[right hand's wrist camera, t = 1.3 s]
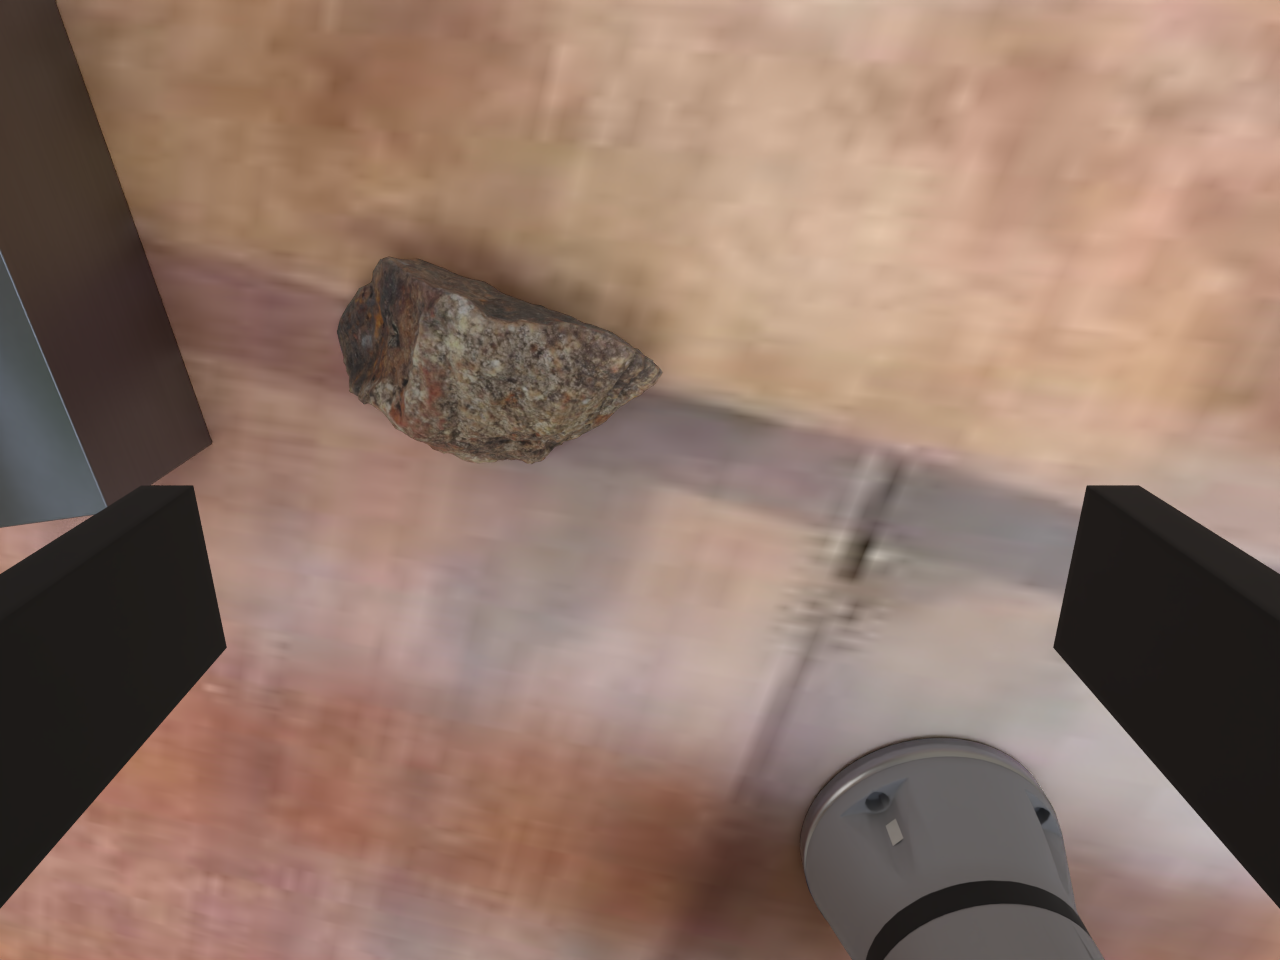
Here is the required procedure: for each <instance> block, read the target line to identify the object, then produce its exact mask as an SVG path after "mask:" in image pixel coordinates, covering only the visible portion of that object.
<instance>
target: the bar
mask: <svg viewBox="0 0 1280 960" xmlns="http://www.w3.org/2000/svg"><path fill="white" fill-rule="evenodd" d="M211 444H212V442H211V439H210V436H209V433H208V430H207V427H206V425H205V422H204V419H203V416H202V413H201V411H200V408H199V405H198V402H197V399H196V397H195V394H194V391H193V388H192V385H191V382H190V380H189V377H188V374H187V371H186V368H185V366H184V363H183V360H182V357H181V354H180V352H179V349H178V346H177V343H176V340H175V337H174V335H173V332H172V329H171V326H170V323H169V321H168V318H167V315H166V312H165V309H164V306H163V304H162V301H161V298H160V295H159V292H158V290H157V287H156V284H155V281H154V278H153V276H152V273H151V270H150V267H149V264H148V261H147V259H146V256H145V253H144V250H143V247H142V245H141V242H140V239H139V236H138V233H137V230H136V228H135V225H134V222H133V219H132V216H131V214H130V211H129V208H128V205H127V202H126V200H125V197H124V194H123V191H122V188H121V185H120V183H119V180H118V177H117V174H116V171H115V169H114V166H113V163H112V160H111V157H110V155H109V152H108V149H107V146H106V143H105V140H104V138H103V135H102V132H101V129H100V126H99V124H98V121H97V118H96V115H95V112H94V109H93V107H92V104H91V101H90V98H89V95H88V93H87V90H86V87H85V84H84V81H83V79H82V76H81V73H80V70H79V67H78V64H77V62H76V59H75V56H74V53H73V50H72V48H71V45H70V42H69V39H68V36H67V33H66V31H65V28H64V25H63V22H62V19H61V17H60V14H59V11H58V8H57V5H56V3H55V0H0V528H2V527H9V526H16V525H23V524H31V523H38V522H45V521H53V520H60V519H67V518H75V517H82V516H89V515H95V514H97V513H98V512H100V511H101V510H103V509H105V508H106V507H108V506H109V505H111V504H113V503H114V502H116V501H117V500H119V499H120V498H122V497H124V496H125V495H127V494H128V493H130V492H132V491H133V490H135V489H136V488H138V487H140V486H150V485H151V484H153V483H154V482H156V481H157V480H159V479H160V478H162V477H163V476H165V475H166V474H168V473H169V472H171V471H172V470H174V469H175V468H177V467H178V466H180V465H181V464H183V463H184V462H186V461H187V460H189V459H190V458H192V457H193V456H194V455H196V454H197V453H199V452H200V451H202V450H203V449H205V448H206V447H208V446H209V445H211Z"/></svg>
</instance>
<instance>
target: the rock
mask: <svg viewBox="0 0 1280 960" xmlns="http://www.w3.org/2000/svg"><path fill="white" fill-rule="evenodd" d="M337 334H338V338H339V342H340V346H341V349H342V353H343V356H344V364H345V365H346V371H347V373H348V375H349V386H350V390H349V391H350V392H351V393H354V394H355V395H357V396H358V398H359V400H360V401H361V402H362V403H363V404H367V403H369V404H371V405H373V406H374V407H375V408H377V409H378V410H380V411H381V412H383V413H384V414H385V415H386V417H387V418H388V419H389V420H390V422H391V423H392V424H393V426H394V427H395V428H396V429H398V430H400V431H402V432H403V433H405V434H407V435H408V436H410V437H411V438H413V439H415V440H417V441H421V442H424V443H426V444H428V445H429V446H430V447H432V449H434V450H437V451H440V452H442V453H451V454H454V455H455V456H457V457H459V458H461V459H463V460H465V461H469V462H474V463H482V462H496V461H498V460H505V459H510V460H515V459H517V460H522V461H524V462H526V463H527V464H533V463H534V462H540V461H542V460H544V459H545V457H546V456H547V455H548V454H549V453H550V452H551V450H552V449H553V448H554V447H556V446H558V445H562V443H563V442H564V441H568V440H572V439H575V438H578V437H579V436H581V435H582V434H584V433H586V432H588V431H590V430H592V429H594V428H595V427H597V426H599V425H601V424H602V423H604V422H605V421H606V420H607V419H608V418H609V417H610V416H611V415H612V414H613V413H614V412H615V411H616V410H617V409H618V408H619V407H620V406H622V405H624V404H626V403H627V402H629V401H630V400H631V399H633V398H635V397H637V396H640V395H641V394H642V393H643V392H644V391H645V390H647V389H648V388H650V387H652V386H653V385H655V384H656V382H657V380H658V379H659V377H660V376H661V374H662V373H663V372H662V371H661V369H660V368H659V367H658V366H657V365H656V364H655V363H654V362H653V360H651V359H649V358H648V357H646V356H644V355H643V354H642V353H641V352H640V351H639V350H638V349H635V348H633V347H632V346H630V345H629V344H628V343H627V342H625V341H624V340H623V339H621V338H620V337H618V336H616V335H615V334H613V333H612V332H610V331H607V330H605V329H602V328H599V327H597V326H594V325H591V324H586V323H582V322H581V321H579V320H577V319H575V318H573V317H571V316H568V315H565V314H562V313H559V312H557V311H553V310H548V309H547V308H545V307H543V306H541V305H533V304H530V303H528V302H525V301H522V300H520V299H517V298H514V297H512V296H508V295H505V294H503V293H501V292H500V291H498V290H497V289H495V288H494V287H492V286H490V285H489V284H487V283H486V282H483V281H478V280H473V279H469V278H465V277H462V276H460V275H457V274H455V273H452V272H450V271H448V270H446V269H444V268H441V267H439V266H436V265H433V264H431V263H428V262H425V261H423V260H420V259H406V260H404V259H397V258H392V257H386V258H383V259H380V261H379V263H378V264H377V266H376V267H375V269H374V271H373V279H372V282H371V283H369V284H368V285H365V286H363V287H361V288H359V290H358V291H357V293H356V295H355V296H354V298H353V299H352V301H351V302H350V303H349V305H348V306H347V308H346V310H345V311H344V313H343V315H342V317H341V319H340V322H339V326H338V330H337Z"/></svg>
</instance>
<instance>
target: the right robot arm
mask: <svg viewBox="0 0 1280 960" xmlns="http://www.w3.org/2000/svg"><path fill="white" fill-rule="evenodd" d="M226 648H227V647H226V642H225V637H224V632H223V627H222V623H221V618H220V613H219V608H218V603H217V598H216V594H215V589H214V584H213V579H212V574H211V569H210V564H209V560H208V555H207V550H206V545H205V540H204V535H203V531H202V526H201V521H200V516H199V511H198V506H197V501H196V497H195V492H194V487H193V486H140V487H138V488H136V489H135V490H133V491H132V492H130V493H128V494H127V495H125V496H124V497H122V498H120V499H119V500H117V501H116V502H114V503H113V504H111V505H109V506H108V507H106V508H105V509H103V510H101V511H100V512H98V513H97V514H95V515H93V516H92V517H90V518H89V519H87V520H86V521H84V522H82V523H81V524H79V525H78V526H76V527H74V528H73V529H71V530H70V531H68V532H67V533H65V534H63V535H62V536H60V537H59V538H57V539H55V540H54V541H52V542H51V543H49V544H47V545H46V546H44V547H43V548H41V549H40V550H38V551H36V552H35V553H33V554H32V555H30V556H28V557H27V558H25V559H24V560H22V561H20V562H19V563H17V564H16V565H14V566H13V567H11V568H9V569H8V570H6V571H5V572H3V573H1V574H0V908H1V907H2V906H3V905H4V904H5V902H6V901H7V900H8V899H9V898H10V897H11V896H12V894H13V893H14V892H15V891H16V890H17V889H18V888H19V886H20V885H21V884H22V883H23V882H24V881H25V879H26V878H27V877H28V876H29V875H30V874H31V873H32V871H33V870H34V869H35V868H36V867H37V866H38V864H39V863H40V862H41V861H42V860H43V859H44V858H45V856H46V855H47V854H48V853H49V852H50V851H51V849H52V848H53V847H54V846H55V845H56V844H57V843H58V841H59V840H60V839H61V838H62V837H63V836H64V834H65V833H66V832H67V831H68V830H69V829H70V828H71V826H72V825H73V824H74V823H75V822H76V821H77V820H78V818H79V817H80V816H81V815H82V814H83V813H84V811H85V810H86V809H87V808H88V807H89V806H90V805H91V803H92V802H93V801H94V800H95V799H96V798H97V796H98V795H99V794H100V793H101V792H102V791H103V790H104V788H105V787H106V786H107V785H108V784H109V783H110V781H111V780H112V779H113V778H114V777H115V776H116V775H117V773H118V772H119V771H120V770H121V769H122V768H123V766H124V765H125V764H126V763H127V762H128V761H129V760H130V758H131V757H132V756H133V755H134V754H135V753H136V752H137V750H138V749H139V748H140V747H141V746H142V745H143V743H144V742H145V741H146V740H147V739H148V738H149V737H150V735H151V734H152V733H153V732H154V731H155V730H156V728H157V727H158V726H159V725H160V724H161V723H162V722H163V720H164V719H165V718H166V717H167V716H168V715H169V713H170V712H171V711H172V710H173V709H174V708H175V707H176V705H177V704H178V703H179V702H180V701H181V700H182V698H183V697H184V696H185V695H186V694H187V693H188V692H189V690H190V689H191V688H192V687H193V686H194V685H195V684H196V682H197V681H198V680H199V679H200V678H201V677H202V675H203V674H204V673H205V672H206V671H207V670H208V669H209V667H210V666H211V665H212V664H213V663H214V662H215V660H216V659H217V658H218V657H219V656H220V655H221V654H222V652H223V651H224V650H225V649H226ZM1053 648H1054V649H1055V650H1056V651H1057V652H1058V654H1059V655H1060V656H1061V657H1062V658H1063V659H1064V660H1065V662H1066V663H1067V664H1068V665H1069V666H1070V667H1071V669H1072V670H1073V671H1074V672H1075V673H1076V674H1077V675H1078V677H1079V678H1080V679H1081V680H1082V681H1083V682H1084V684H1085V685H1086V686H1087V687H1088V688H1089V689H1090V690H1091V692H1092V693H1093V694H1094V695H1095V696H1096V697H1097V698H1098V700H1099V701H1100V702H1101V703H1102V704H1103V705H1104V707H1105V708H1106V709H1107V710H1108V711H1109V712H1110V713H1111V715H1112V716H1113V717H1114V718H1115V719H1116V720H1117V722H1118V723H1119V724H1120V725H1121V726H1122V727H1123V728H1124V730H1125V731H1126V732H1127V733H1128V734H1129V735H1130V737H1131V738H1132V739H1133V740H1134V741H1135V742H1136V743H1137V745H1138V746H1139V747H1140V748H1141V749H1142V750H1143V752H1144V753H1145V754H1146V755H1147V756H1148V757H1149V758H1150V760H1151V761H1152V762H1153V763H1154V764H1155V765H1156V766H1157V768H1158V769H1159V770H1160V771H1161V772H1162V773H1163V775H1164V776H1165V777H1166V778H1167V779H1168V780H1169V781H1170V783H1171V784H1172V785H1173V786H1174V787H1175V788H1176V790H1177V791H1178V792H1179V793H1180V794H1181V795H1182V796H1183V798H1184V799H1185V800H1186V801H1187V802H1188V803H1189V805H1190V806H1191V807H1192V808H1193V809H1194V810H1195V811H1196V813H1197V814H1198V815H1199V816H1200V817H1201V818H1202V820H1203V821H1204V822H1205V823H1206V824H1207V825H1208V826H1209V828H1210V829H1211V830H1212V831H1213V832H1214V833H1215V834H1216V836H1217V837H1218V838H1219V839H1220V840H1221V841H1222V843H1223V844H1224V845H1225V846H1226V847H1227V848H1228V849H1229V851H1230V852H1231V853H1232V854H1233V855H1234V856H1235V858H1236V859H1237V860H1238V861H1239V862H1240V863H1241V864H1242V866H1243V867H1244V868H1245V869H1246V870H1247V871H1248V873H1249V874H1250V875H1251V876H1252V877H1253V878H1254V879H1255V881H1256V882H1257V883H1258V884H1259V885H1260V886H1261V888H1262V889H1263V890H1264V891H1265V892H1266V893H1267V894H1268V896H1269V897H1270V898H1271V899H1272V900H1273V901H1274V902H1275V904H1276V905H1277V906H1278V907H1279V908H1280V574H1279V573H1277V572H1275V571H1274V570H1272V569H1271V568H1269V567H1267V566H1266V565H1264V564H1263V563H1261V562H1260V561H1258V560H1256V559H1255V558H1253V557H1252V556H1250V555H1248V554H1247V553H1245V552H1244V551H1242V550H1240V549H1239V548H1237V547H1236V546H1234V545H1233V544H1231V543H1229V542H1228V541H1226V540H1225V539H1223V538H1221V537H1220V536H1218V535H1217V534H1215V533H1213V532H1212V531H1210V530H1209V529H1207V528H1206V527H1204V526H1202V525H1201V524H1199V523H1198V522H1196V521H1194V520H1193V519H1191V518H1190V517H1188V516H1187V515H1185V514H1183V513H1182V512H1180V511H1179V510H1177V509H1175V508H1174V507H1172V506H1171V505H1169V504H1167V503H1166V502H1164V501H1163V500H1161V499H1160V498H1158V497H1156V496H1155V495H1153V494H1152V493H1150V492H1148V491H1147V490H1145V489H1144V488H1142V487H1140V486H1087V487H1086V492H1085V497H1084V501H1083V506H1082V511H1081V516H1080V521H1079V526H1078V531H1077V535H1076V540H1075V545H1074V550H1073V555H1072V560H1071V564H1070V569H1069V574H1068V579H1067V584H1066V589H1065V594H1064V598H1063V603H1062V608H1061V613H1060V618H1059V623H1058V627H1057V632H1056V637H1055V642H1054V647H1053ZM800 853H801V859H802V864H803V868H804V873H805V877H806V881H807V885H808V888H809V891H810V893H811V895H812V897H813V899H814V901H815V903H816V905H817V907H818V909H819V910H820V912H821V913H822V915H823V916H824V918H825V919H826V920H827V921H828V923H829V925H830V926H831V928H832V929H833V931H834V933H835V934H836V936H837V937H838V939H839V940H840V942H841V943H842V945H843V946H844V948H845V950H846V951H847V953H848V954H849V956H850V957H851V958H852V960H1104V958H1103V956H1102V954H1101V953H1100V951H1099V949H1098V948H1097V946H1096V944H1095V943H1094V941H1093V940H1092V938H1091V936H1090V934H1089V933H1088V931H1087V929H1086V927H1085V926H1084V924H1083V922H1082V921H1081V919H1080V917H1079V915H1078V913H1077V910H1076V905H1075V900H1074V895H1073V889H1072V884H1071V879H1070V874H1069V868H1068V863H1067V858H1066V852H1065V847H1064V842H1063V837H1062V833H1061V829H1060V825H1059V823H1058V819H1057V816H1056V813H1055V811H1054V809H1053V807H1052V805H1051V803H1050V802H1049V800H1048V799H1047V797H1046V795H1045V794H1044V792H1043V791H1042V789H1041V788H1040V786H1039V784H1038V783H1037V781H1036V780H1035V778H1034V777H1033V776H1032V775H1031V774H1030V772H1029V771H1028V770H1027V769H1026V768H1025V767H1023V766H1022V765H1021V764H1020V763H1019V762H1018V761H1016V760H1015V759H1013V758H1012V757H1010V756H1009V755H1007V754H1005V753H1003V752H1002V751H999V750H997V749H995V748H992V747H990V746H987V745H984V744H981V743H977V742H973V741H968V740H961V739H953V738H928V739H918V740H912V741H907V742H902V743H898V744H895V745H891V746H888V747H885V748H882V749H879V750H877V751H875V752H873V753H870V754H868V755H866V756H864V757H862V758H861V759H859V760H857V761H855V762H854V763H852V764H851V765H849V766H847V767H846V768H845V769H843V770H842V771H841V772H840V773H838V774H837V775H836V776H835V777H834V778H833V779H832V780H830V781H829V782H828V783H827V785H826V786H825V787H824V788H823V789H822V790H821V791H820V793H819V794H818V795H817V797H816V798H815V800H814V801H813V803H812V805H811V806H810V808H809V810H808V813H807V815H806V817H805V820H804V823H803V826H802V831H801V836H800Z"/></svg>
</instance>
